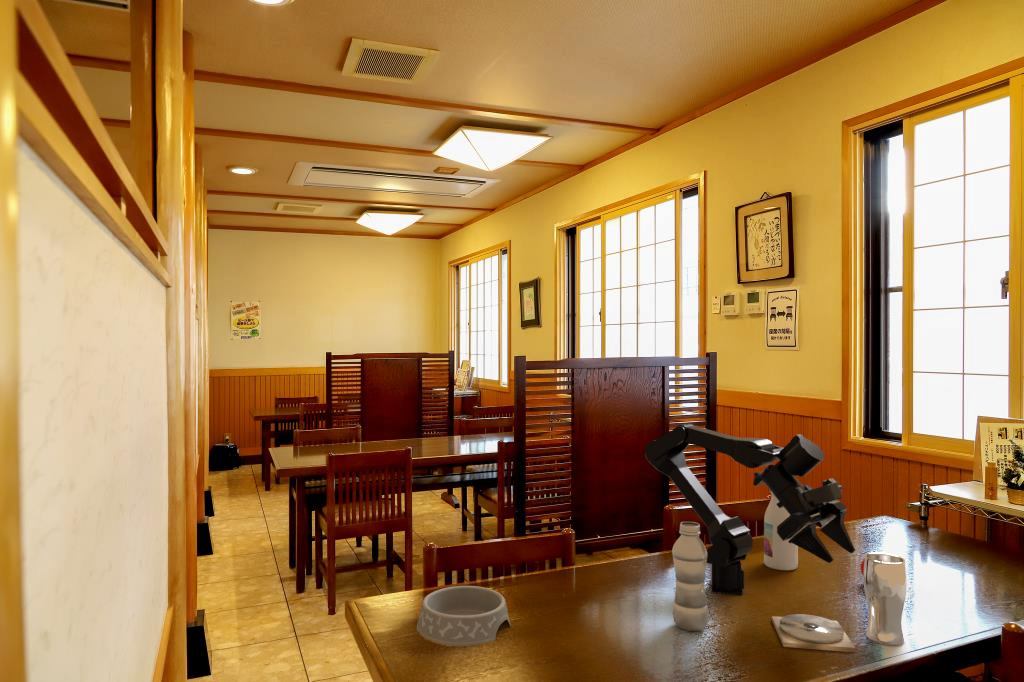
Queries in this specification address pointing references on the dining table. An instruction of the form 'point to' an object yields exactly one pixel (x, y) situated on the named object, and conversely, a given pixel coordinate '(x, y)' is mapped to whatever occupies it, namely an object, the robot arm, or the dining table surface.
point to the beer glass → (885, 597)
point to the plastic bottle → (690, 579)
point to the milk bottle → (777, 540)
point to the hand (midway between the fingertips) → (842, 556)
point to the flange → (811, 629)
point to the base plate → (791, 642)
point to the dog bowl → (462, 615)
